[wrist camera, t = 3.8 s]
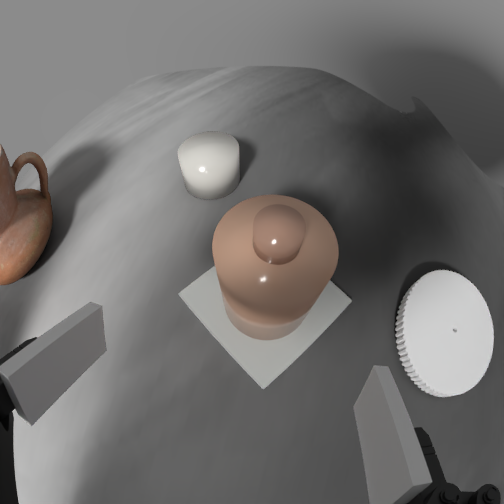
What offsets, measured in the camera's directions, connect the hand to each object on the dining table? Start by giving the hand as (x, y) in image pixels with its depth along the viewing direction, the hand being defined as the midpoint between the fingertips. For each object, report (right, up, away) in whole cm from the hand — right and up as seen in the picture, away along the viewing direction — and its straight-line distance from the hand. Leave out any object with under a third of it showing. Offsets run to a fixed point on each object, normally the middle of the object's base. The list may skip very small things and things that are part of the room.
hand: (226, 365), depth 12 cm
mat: (+2, +1, +15) cm, 15 cm away
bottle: (+2, +1, +15) cm, 15 cm away
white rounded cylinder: (-4, +14, +23) cm, 27 cm away
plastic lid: (+22, -4, +13) cm, 26 cm away
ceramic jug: (-31, +6, +18) cm, 36 cm away
